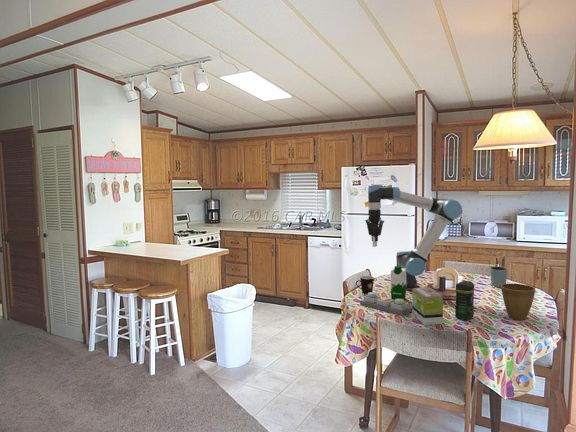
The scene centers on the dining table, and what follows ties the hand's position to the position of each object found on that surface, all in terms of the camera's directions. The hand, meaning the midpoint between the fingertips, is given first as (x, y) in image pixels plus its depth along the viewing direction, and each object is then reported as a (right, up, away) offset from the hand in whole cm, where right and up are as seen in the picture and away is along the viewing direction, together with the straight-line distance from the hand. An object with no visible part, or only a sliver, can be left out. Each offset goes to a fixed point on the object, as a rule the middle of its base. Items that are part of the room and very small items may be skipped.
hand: (374, 246), depth 249 cm
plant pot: (+61, -33, -50) cm, 85 cm away
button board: (0, -32, -28) cm, 43 cm away
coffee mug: (-6, -30, +1) cm, 30 cm away
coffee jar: (+36, -33, -47) cm, 68 cm away
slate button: (-6, -28, -22) cm, 36 cm away
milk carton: (+11, -31, -13) cm, 35 cm away
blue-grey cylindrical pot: (+83, -27, +8) cm, 87 cm away
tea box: (+16, -34, -49) cm, 61 cm away
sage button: (+6, -29, -35) cm, 46 cm away
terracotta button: (0, -30, -29) cm, 41 cm away
